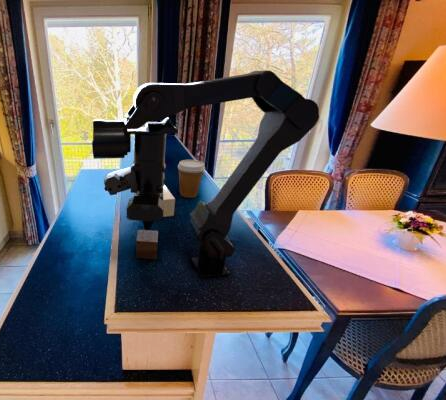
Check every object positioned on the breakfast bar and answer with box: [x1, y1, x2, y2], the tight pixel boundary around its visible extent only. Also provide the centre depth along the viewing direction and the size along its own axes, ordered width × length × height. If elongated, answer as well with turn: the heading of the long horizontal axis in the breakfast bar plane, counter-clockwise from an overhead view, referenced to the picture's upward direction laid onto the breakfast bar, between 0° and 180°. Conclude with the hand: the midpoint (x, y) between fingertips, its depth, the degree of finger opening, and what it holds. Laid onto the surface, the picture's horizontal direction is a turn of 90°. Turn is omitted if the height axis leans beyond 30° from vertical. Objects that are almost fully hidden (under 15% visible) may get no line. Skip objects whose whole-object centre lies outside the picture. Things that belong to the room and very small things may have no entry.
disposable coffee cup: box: [177, 159, 206, 199], centre depth 95 cm, size 10×10×12 cm
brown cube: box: [135, 229, 159, 260], centre depth 65 cm, size 5×5×5 cm
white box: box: [163, 184, 176, 218], centre depth 87 cm, size 13×10×8 cm
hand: (147, 228), depth 56 cm, fingers closed
